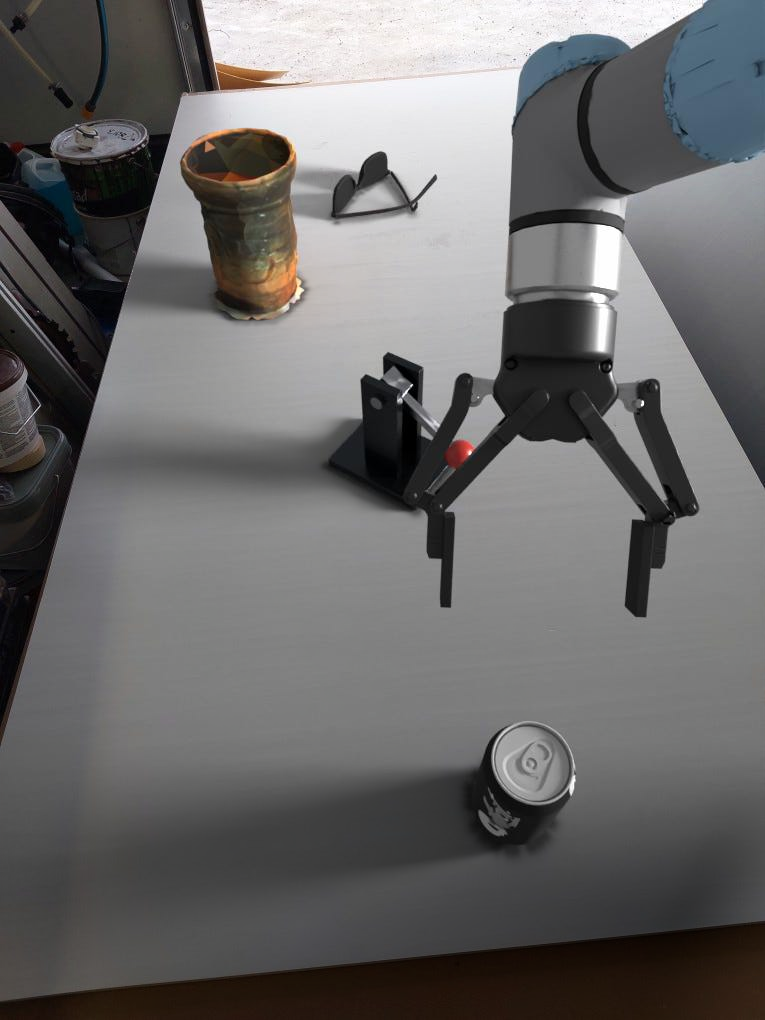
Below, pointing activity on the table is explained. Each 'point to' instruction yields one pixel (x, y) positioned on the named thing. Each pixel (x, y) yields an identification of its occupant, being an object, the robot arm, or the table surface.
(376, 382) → the bracket
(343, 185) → the sunglasses
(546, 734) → the beverage can
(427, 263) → the table surface
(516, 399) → the robot arm
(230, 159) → the vessel
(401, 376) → the lever
